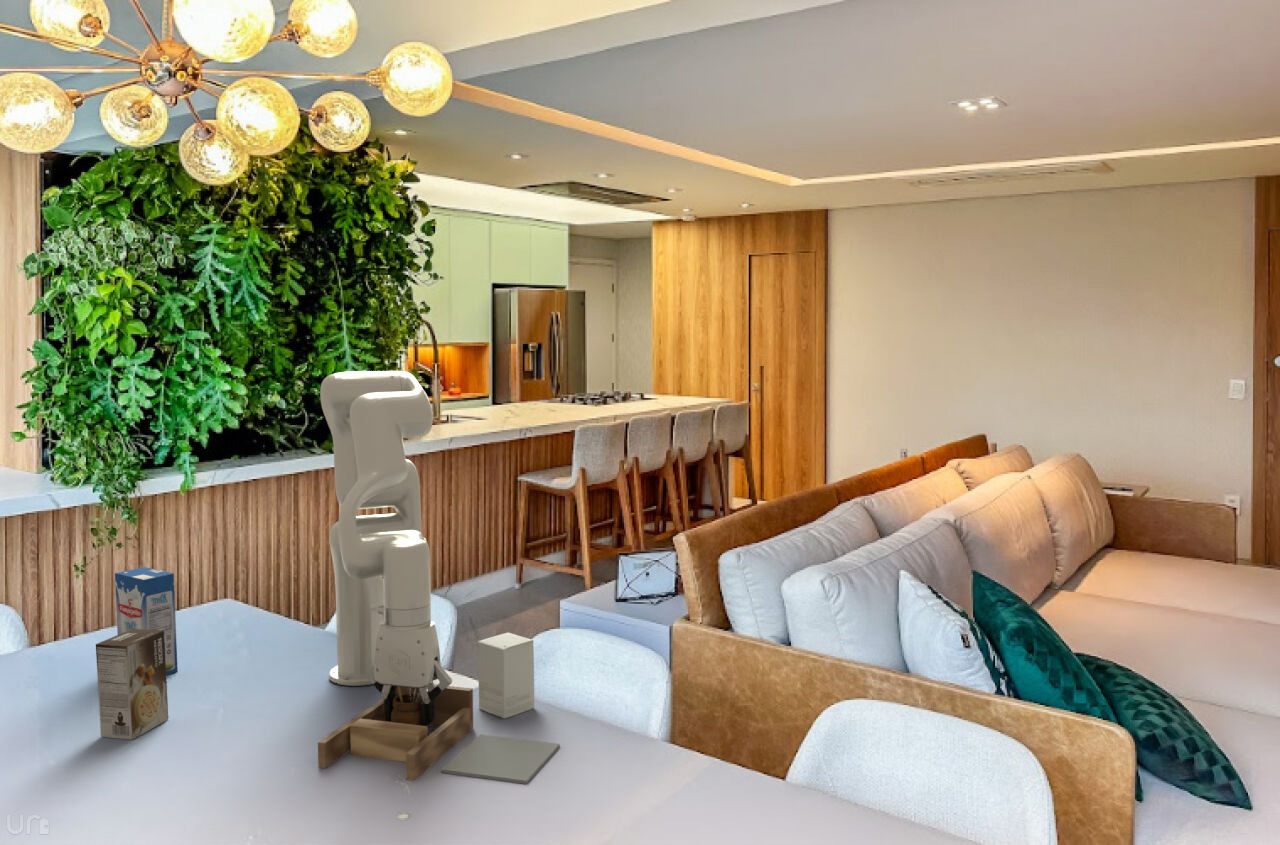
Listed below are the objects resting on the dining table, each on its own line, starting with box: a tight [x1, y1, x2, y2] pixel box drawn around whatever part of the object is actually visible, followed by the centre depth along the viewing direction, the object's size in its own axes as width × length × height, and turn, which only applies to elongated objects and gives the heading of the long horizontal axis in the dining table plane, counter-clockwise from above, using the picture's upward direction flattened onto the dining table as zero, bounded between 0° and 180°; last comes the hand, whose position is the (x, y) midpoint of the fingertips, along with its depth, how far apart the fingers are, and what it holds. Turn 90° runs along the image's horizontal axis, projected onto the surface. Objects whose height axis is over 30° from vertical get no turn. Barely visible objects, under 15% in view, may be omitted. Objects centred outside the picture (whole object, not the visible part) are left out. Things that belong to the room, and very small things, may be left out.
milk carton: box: [114, 566, 179, 677], centre depth 196 cm, size 10×6×20 cm, turn 58°
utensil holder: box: [391, 686, 429, 727], centre depth 164 cm, size 6×6×12 cm
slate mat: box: [441, 733, 561, 785], centre depth 157 cm, size 14×14×1 cm
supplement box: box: [477, 632, 535, 719], centre depth 177 cm, size 7×7×13 cm
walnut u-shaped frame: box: [317, 683, 474, 781], centre depth 161 cm, size 21×16×7 cm
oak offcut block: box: [350, 719, 429, 763], centre depth 158 cm, size 3×12×5 cm, turn 75°
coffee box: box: [95, 629, 169, 741], centre depth 168 cm, size 9×6×16 cm
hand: (409, 721), depth 164 cm, fingers closed on utensil holder, 5 cm apart
